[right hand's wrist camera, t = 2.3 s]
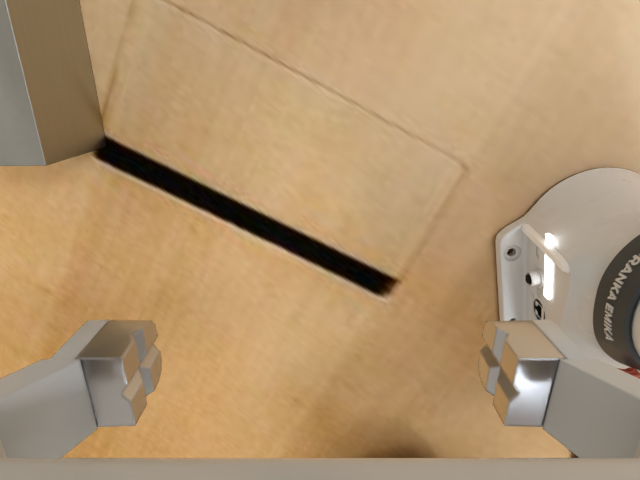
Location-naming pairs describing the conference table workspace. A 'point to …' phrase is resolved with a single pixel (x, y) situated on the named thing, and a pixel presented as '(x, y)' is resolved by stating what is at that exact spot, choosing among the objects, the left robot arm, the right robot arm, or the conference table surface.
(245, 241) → the conference table surface
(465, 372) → the conference table surface
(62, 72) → the bar
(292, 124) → the conference table surface
